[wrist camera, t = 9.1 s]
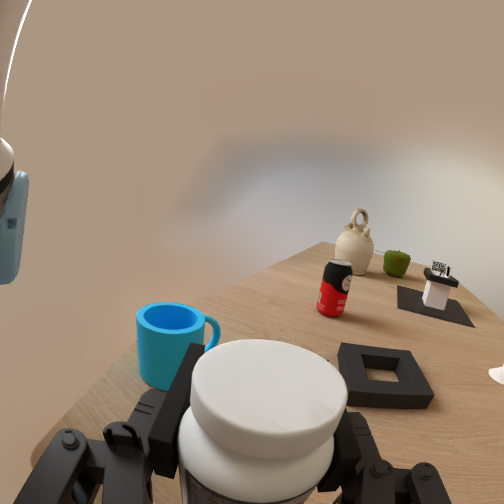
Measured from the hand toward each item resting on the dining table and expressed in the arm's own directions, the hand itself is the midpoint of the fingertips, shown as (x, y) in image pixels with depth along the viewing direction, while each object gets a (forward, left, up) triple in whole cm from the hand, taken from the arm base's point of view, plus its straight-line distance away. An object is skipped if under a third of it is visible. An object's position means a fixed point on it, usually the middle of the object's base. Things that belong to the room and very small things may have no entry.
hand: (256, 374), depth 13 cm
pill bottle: (+1, -5, -6) cm, 8 cm away
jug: (+22, +96, -14) cm, 99 cm away
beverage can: (+10, +47, -14) cm, 50 cm away
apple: (+44, +104, -14) cm, 114 cm away
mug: (-11, +16, -14) cm, 24 cm away
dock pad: (+17, +22, -14) cm, 31 cm away
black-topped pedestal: (+48, +68, -14) cm, 84 cm away
